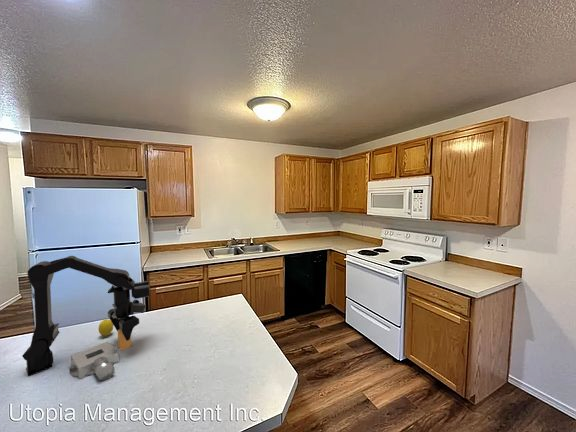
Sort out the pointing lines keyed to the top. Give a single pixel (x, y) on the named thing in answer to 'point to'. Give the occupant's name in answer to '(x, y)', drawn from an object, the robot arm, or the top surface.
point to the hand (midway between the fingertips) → (124, 336)
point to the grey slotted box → (95, 362)
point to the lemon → (105, 327)
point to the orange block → (123, 341)
